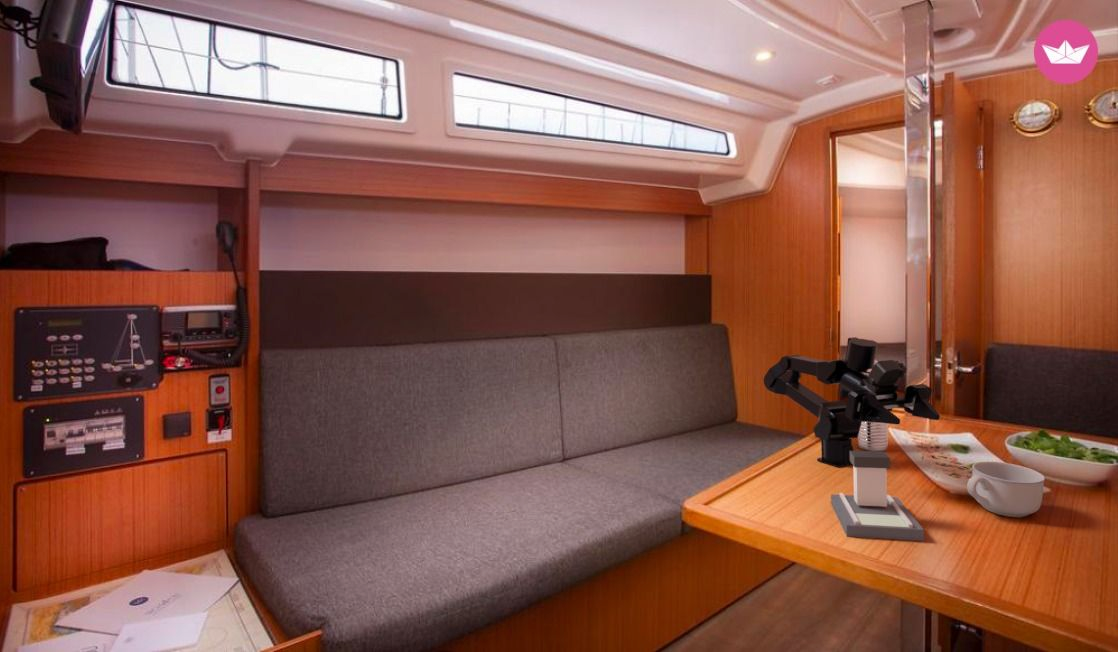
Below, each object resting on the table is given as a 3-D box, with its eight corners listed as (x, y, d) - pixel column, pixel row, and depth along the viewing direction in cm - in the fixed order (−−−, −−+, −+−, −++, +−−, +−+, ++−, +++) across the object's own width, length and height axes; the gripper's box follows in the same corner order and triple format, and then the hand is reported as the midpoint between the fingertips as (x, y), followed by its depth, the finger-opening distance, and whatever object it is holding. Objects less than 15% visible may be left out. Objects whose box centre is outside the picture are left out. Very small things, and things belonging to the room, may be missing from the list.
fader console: (831, 504, 115) (830, 491, 115) (897, 507, 112) (897, 494, 112) (846, 536, 101) (846, 522, 101) (923, 541, 98) (923, 526, 97)
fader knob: (850, 498, 111) (849, 450, 111) (884, 499, 110) (884, 451, 109) (855, 506, 108) (854, 456, 107) (890, 507, 106) (890, 457, 105)
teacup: (1011, 498, 113) (1011, 459, 113) (1061, 521, 102) (1061, 477, 102) (942, 503, 113) (942, 463, 112) (985, 526, 102) (985, 482, 101)
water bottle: (852, 447, 152) (850, 354, 150) (869, 443, 155) (868, 351, 153) (876, 453, 146) (874, 356, 144) (893, 449, 148) (892, 353, 147)
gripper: (833, 358, 125) (885, 387, 110) (907, 352, 128) (967, 379, 114) (826, 404, 128) (875, 438, 114) (898, 397, 132) (955, 429, 117)
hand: (919, 419), depth 115 cm, fingers open, 9 cm apart
